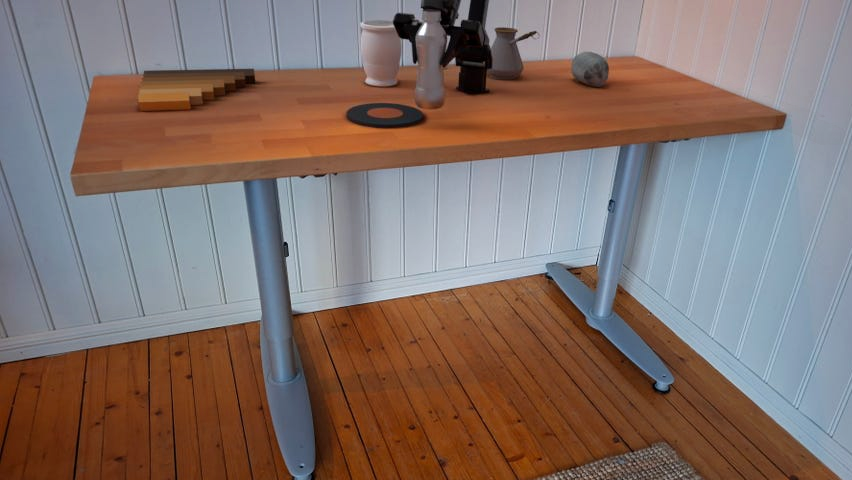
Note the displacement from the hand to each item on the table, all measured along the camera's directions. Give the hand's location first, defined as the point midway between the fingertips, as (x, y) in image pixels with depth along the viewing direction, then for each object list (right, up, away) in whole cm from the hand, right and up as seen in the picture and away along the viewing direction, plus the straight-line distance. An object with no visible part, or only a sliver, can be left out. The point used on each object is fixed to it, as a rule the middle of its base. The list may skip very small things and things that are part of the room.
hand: (428, 64), depth 141 cm
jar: (-15, +6, +38) cm, 41 cm away
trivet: (-11, -8, +11) cm, 18 cm away
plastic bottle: (0, -8, +6) cm, 10 cm away
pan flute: (-54, -2, +18) cm, 57 cm away
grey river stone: (+41, +10, +52) cm, 67 cm away
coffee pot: (+19, +10, +49) cm, 54 cm away
